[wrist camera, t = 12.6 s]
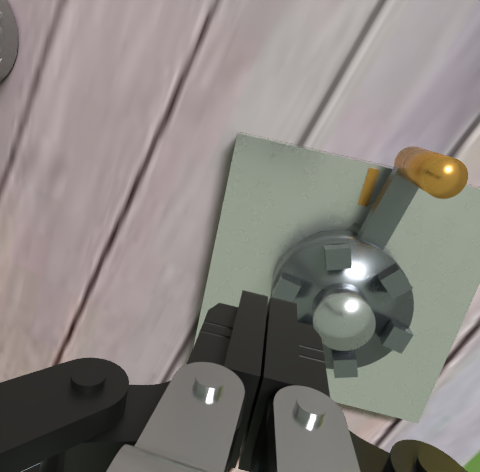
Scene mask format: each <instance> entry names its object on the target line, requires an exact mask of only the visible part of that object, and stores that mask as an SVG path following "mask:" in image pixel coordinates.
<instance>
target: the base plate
mask: <svg viewBox="0 0 480 472" xmlns="http://www.w3.org/2000/svg"><path fill="white" fill-rule="evenodd" d="M393 168H394V167H391V166H387V165H383V164H378V163H374V162H370V161H365V160H361V159H357V158H352V157H348V156H343V155H339V154H335V153H330V152H326V151H322V150H317V149H313V148H309V147H304V146H300V145H295V144H291V143H287V142H282V141H278V140H274V139H269V138H265V137H261V136H256V135H252V134H247V133H243V132H239V133H237V138H236V143H235V148H234V153H233V157H232V162H231V167H230V172H229V177H228V182H227V187H226V191H225V196H224V201H223V206H222V211H221V216H220V221H219V225H218V230H217V235H216V240H215V245H214V250H213V254H212V259H211V264H210V269H209V274H208V279H207V284H206V288H205V293H204V298H203V303H202V308H201V313H200V318H199V322H198V327H197V332H196V337H195V342H196V340H197V337H198V335H199V332H200V330H201V327H202V325H203V323H204V320H205V317H206V314H207V312H208V310H209V309H210V308H212V307H214V306H215V305H217V304H218V303H223V304H227V305H231V306H235V307H239V303H240V298H241V294H242V290H245V291H249V292H253V293H257V294H261V295H265V296H268V302H269V299H270V296H271V285H272V278H273V274H274V272H275V269H276V267H277V265H278V263H279V261H280V259H281V258H282V257H283V255H284V254H285V253H286V252H287V251H288V250H289V249H290V248H291V247H292V246H293V245H295V244H296V243H297V242H299V241H300V240H302V239H304V238H305V237H308V236H310V235H312V234H315V233H319V232H322V231H329V230H348V231H353V232H359V230H360V228H361V227H362V225H363V223H364V221H365V219H366V217H367V215H368V214H369V212H370V210H371V208H372V206H373V204H374V203H375V201H376V199H377V197H378V195H379V193H380V191H381V190H382V188H383V186H384V184H385V182H386V180H387V179H388V177H389V175H390V173H391V171H392V169H393ZM385 248H386V249H387V250H388V251H389V253H390V254H391V255H392V256H393V258H394V259H395V260H396V262H397V263H398V265H399V266H400V267H401V269H402V270H403V272H404V273H405V275H406V277H407V278H408V281H409V283H410V284H411V286H412V287H413V289H412V292H413V298H414V312H413V317H412V322H411V324H410V329H411V331H412V333H413V337H412V339H411V340H410V342H409V343H408V345H407V346H406V348H405V349H404V351H403V352H402V354H401V353H398V352H396V351H394V350H393V351H391V352H390V353H389V354H388V355H386V356H385V357H383V358H381V359H380V360H378V361H376V362H374V363H372V364H369V365H366V366H363V367H359V368H357V370H358V377H350V378H334V372H333V369H327V368H326V372H327V379H328V386H329V392H330V398H331V399H332V400H333V401H334V402H337V403H340V404H344V405H348V406H352V407H356V408H360V409H364V410H368V411H372V412H376V413H380V414H384V415H388V416H392V417H396V418H400V419H404V420H407V421H411V422H415V423H418V422H419V420H420V417H421V415H422V413H423V411H424V408H425V406H426V404H427V402H428V399H429V397H430V395H431V392H432V390H433V388H434V386H435V383H436V381H437V379H438V377H439V374H440V372H441V370H442V367H443V365H444V363H445V361H446V358H447V356H448V354H449V352H450V349H451V347H452V345H453V342H454V340H455V338H456V336H457V333H458V331H459V329H460V327H461V324H462V322H463V320H464V317H465V315H466V313H467V311H468V308H469V306H470V304H471V302H472V299H473V297H474V295H475V292H476V290H477V288H478V286H479V283H480V187H479V186H474V185H470V184H466V185H465V187H464V189H463V190H462V191H461V192H460V193H459V194H457V195H456V196H454V197H452V198H448V199H439V198H435V197H433V196H431V195H430V194H428V193H427V192H425V191H423V190H422V189H420V188H419V189H418V191H417V192H416V194H415V196H414V198H413V199H412V201H411V203H410V205H409V206H408V208H407V210H406V211H405V213H404V215H403V217H402V218H401V220H400V222H399V224H398V225H397V227H396V229H395V231H394V232H393V234H392V236H391V238H390V239H389V241H388V243H387V245H386V246H385ZM195 342H194V345H195ZM193 348H194V347H193Z"/></svg>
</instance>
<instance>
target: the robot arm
mask: <svg viewBox="0 0 480 472" xmlns="http://www.w3.org/2000/svg"><path fill="white" fill-rule="evenodd" d="M17 50H18V29H17V25H16V20H15V16H14V14H13V12H12V9H11V7H10V5H9V3H8V1H7V0H0V81H1V80H3V79H4V78H5V77H6V76H7V75H8V73H9V71H10V70H11V68H12V67H13V64H14V62H15V59H16V56H17ZM324 362H325V358H324V353H323V345H322V338H321V337H320V335H319V334H318V333H317V331H316V330H315V329H314V327H313V326H312V325H308V324H304V323H300V322H298V320H297V303H294V302H290V301H286V300H282V299H278V298H273V297H270V299H269V302H268V296H265V295H261V294H257V293H253V292H249V291H245V290H242V294H241V298H240V303H239V307H235V306H231V305H227V304H223V303H218V304H217V305H215V306H214V307H212V308H210V309H209V310H208V312H207V314H206V317H205V320H204V323H203V325H202V327H201V330H200V332H199V335H198V337H197V340H196V342H195V345H194V348H193V350H192V353H191V355H190V358H189V360H188V363H187V365H185V366H183V367H181V368H180V369H179V370H178V371H177V372H176V373H175V374H174V376H173V378H172V380H171V381H168V382H166V383H162V384H156V385H129V380H128V376H127V374H126V373H125V371H124V370H123V369H122V368H121V367H120V366H118V365H117V364H115V363H113V362H111V361H108V360H104V359H99V358H81V359H75V360H72V361H68V362H65V363H62V364H59V365H55V366H52V367H49V368H46V369H43V370H40V371H36V372H33V373H30V374H27V375H24V376H20V377H17V378H14V379H11V380H8V381H5V382H1V383H0V472H21V471H23V470H25V469H27V468H29V467H31V466H33V465H36V464H38V463H40V464H38V465H36V466H34V467H32V468H30V469H28V470H25V471H23V472H228V469H229V467H233V468H235V467H236V463H237V459H238V456H239V452H240V448H241V452H240V460H239V467H238V469H241V470H245V471H249V472H467V471H466V470H465V469H464V468H463V467H462V466H460V465H459V464H458V463H457V462H456V461H455V460H453V459H452V458H451V457H450V456H449V455H447V454H446V453H444V452H443V451H441V450H439V449H438V448H436V447H434V446H432V445H429V444H427V443H424V442H421V441H417V440H402V441H399V442H397V443H395V444H394V446H393V447H392V449H391V451H390V453H388V452H386V451H384V450H382V449H380V448H378V447H376V446H374V445H372V444H370V443H368V442H366V441H365V440H363V439H361V438H359V437H358V436H356V435H355V434H353V433H352V432H351V431H350V430H349V429H348V426H347V422H346V418H345V416H344V413H343V412H342V410H341V408H340V407H339V406H338V405H337V404H336V403H335V402H334V401H333V400H332V399H331V398H330V392H329V386H328V379H327V372H326V365H325V363H324Z"/></svg>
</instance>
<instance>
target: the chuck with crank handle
mask: <svg viewBox="0 0 480 472" xmlns="http://www.w3.org/2000/svg"><path fill="white" fill-rule="evenodd" d="M467 180H468V172H467V169H466V167H465V165H464V164H463V163H462V162H461V161H459V160H458V159H455V158H452V157H448V156H445V155H442V154H439V153H435V152H432V151H429V150H425V149H422V148H419V147H407V148H405V149H403V150H402V151H400V152H399V153H398V155H397V156H396V158H395V162H394V168H393V169H392V171H391V173H390V175H389V177H388V179H387V180H386V182H385V184H384V186H383V188H382V190H381V191H380V193H379V195H378V197H377V199H376V201H375V203H374V204H373V206H372V208H371V210H370V212H369V214H368V215H367V217H366V219H365V221H364V223H363V225H362V227H361V228H360V230H359V232H353V231H348V230H329V231H322V232H319V233H315V234H312V235H310V236H308V237H305V238H304V239H302V240H300V241H299V242H297V243H296V244H295V245H293V246H292V247H291V248H290V249H289V250H288V251H287V252H286V253H285V254H284V255H283V257H282V258H281V259H280V261H279V263H278V265H277V267H276V269H275V272H274V274H273V278H272V285H271V296H270V297H273V298H278V299H282V300H286V301H290V302H294V303H297V320H298V322H300V323H304V324H308V325H312V326H313V327H314V329H315V330H316V331H317V333H318V334H319V335H320V337H321V338H322V345H323V353H324V358H325V362H324V363H325V365H326V368H327V369H333V372H334V378H350V377H358V370H357V368H359V367H363V366H366V365H369V364H372V363H374V362H376V361H378V360H380V359H381V358H383V357H385V356H386V355H388V354H389V353H390V352H391V351H393V350H394V351H396V352H398V353H401V354H402V352H403V351H404V349H405V348H406V346H407V345H408V343H409V342H410V340H411V339H412V337H413V333H412V331H411V329H410V324H411V322H412V317H413V312H414V298H413V292H412V289H413V287H412V286H411V284H410V283H409V281H408V278H407V277H406V275H405V273H404V272H403V270H402V269H401V267H400V266H399V265H398V263H397V262H396V260H395V259H394V258H393V256H392V255H391V254H390V253H389V251H388V250H387V249H386V248H385V246H386V245H387V243H388V241H389V239H390V238H391V236H392V234H393V232H394V231H395V229H396V227H397V225H398V224H399V222H400V220H401V218H402V217H403V215H404V213H405V211H406V210H407V208H408V206H409V205H410V203H411V201H412V199H413V198H414V196H415V194H416V192H417V191H418V189H419V188H420V189H422V190H423V191H425V192H427V193H428V194H430V195H431V196H433V197H435V198H439V199H448V198H452V197H454V196H456V195H457V194H459V193H460V192H461V191H462V190H463V189H464V187H465V185H466V183H467Z"/></svg>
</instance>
